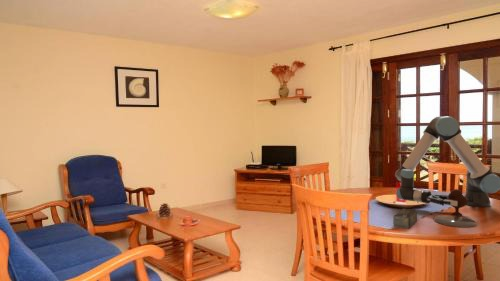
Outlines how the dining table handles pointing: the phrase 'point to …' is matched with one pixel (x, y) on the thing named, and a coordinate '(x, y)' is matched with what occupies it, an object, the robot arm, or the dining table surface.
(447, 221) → the disc
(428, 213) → the dining table surface
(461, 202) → the ice cream bowl
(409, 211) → the dark grey rectangular block
